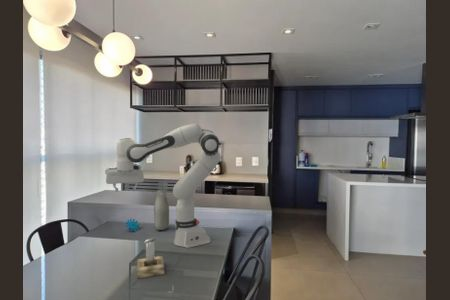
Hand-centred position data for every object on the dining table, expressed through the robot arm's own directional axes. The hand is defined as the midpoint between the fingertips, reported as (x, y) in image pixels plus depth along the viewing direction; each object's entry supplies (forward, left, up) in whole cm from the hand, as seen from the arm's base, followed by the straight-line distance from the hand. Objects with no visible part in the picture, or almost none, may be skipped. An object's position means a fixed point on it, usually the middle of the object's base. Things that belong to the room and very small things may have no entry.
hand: (125, 190), depth 148 cm
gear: (-3, -34, -34) cm, 48 cm away
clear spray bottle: (-12, +29, -34) cm, 46 cm away
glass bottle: (-22, -28, -34) cm, 49 cm away
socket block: (-12, +29, -34) cm, 46 cm away
